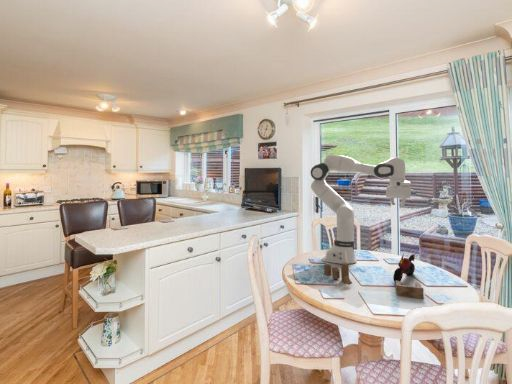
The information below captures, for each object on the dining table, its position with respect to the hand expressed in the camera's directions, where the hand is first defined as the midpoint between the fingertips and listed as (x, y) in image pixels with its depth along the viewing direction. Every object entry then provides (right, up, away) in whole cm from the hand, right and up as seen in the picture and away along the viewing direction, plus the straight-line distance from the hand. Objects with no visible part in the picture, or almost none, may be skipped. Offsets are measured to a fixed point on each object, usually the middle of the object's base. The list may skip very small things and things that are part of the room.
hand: (397, 205), depth 171 cm
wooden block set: (-42, -42, -18) cm, 62 cm away
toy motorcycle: (-4, -42, -15) cm, 45 cm away
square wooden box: (-13, -42, -36) cm, 57 cm away
